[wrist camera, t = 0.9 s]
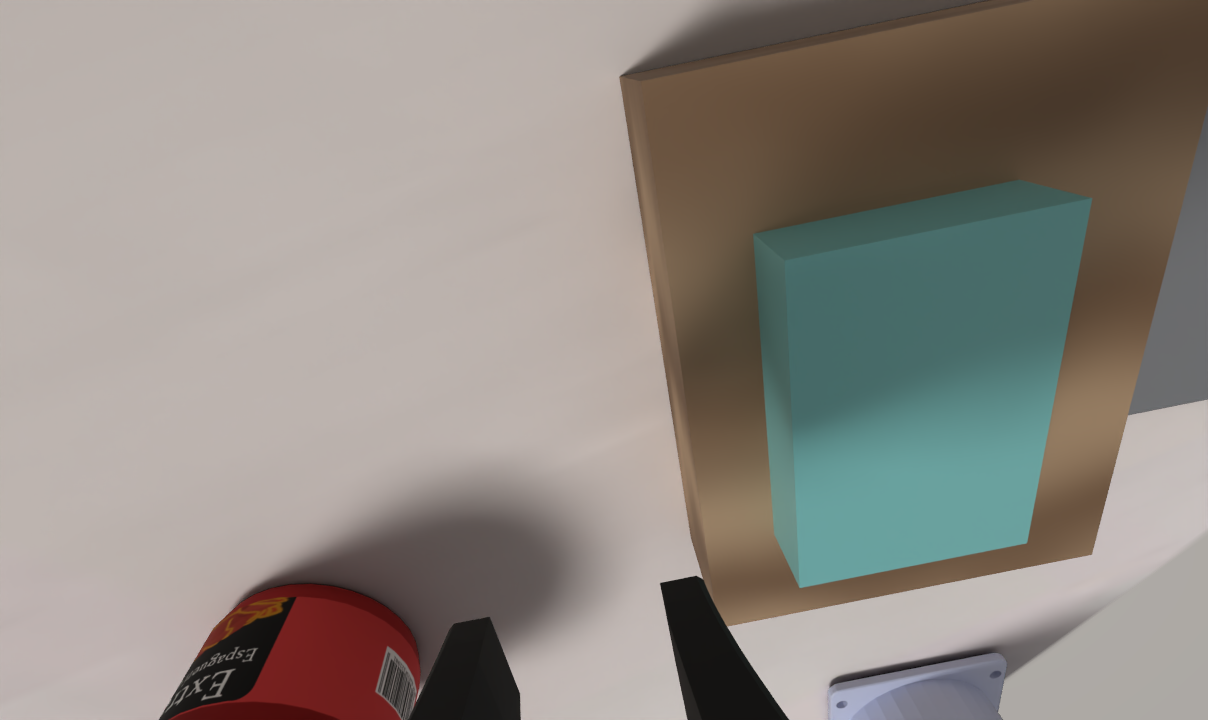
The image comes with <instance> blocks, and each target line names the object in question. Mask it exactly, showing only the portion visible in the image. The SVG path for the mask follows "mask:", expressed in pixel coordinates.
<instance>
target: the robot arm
mask: <svg viewBox="0 0 1208 720" xmlns="http://www.w3.org/2000/svg"><path fill="white" fill-rule="evenodd" d="M660 585H661V590H662V595H663V600H664V605H665V610H666V616H667V621H668V626H669V631H670V636H671V641H672V646H673V651H674V656H675V661H676V666H677V671H678V676H679V681H680V686H681V690H682V695H683V700H684V705H685V710H686V715H687V719H688V720H789V719H788V718H787V716H786V715H785V713H784V712H783V711H782V709H781V708H780V707H779V705H778V704H777V702H776V701H775V700H774V698H773V697H772V695H771V694H770V692H769V691H768V689H767V688H766V686H765V685H764V684H763V682H762V681H761V679H760V678H759V676H758V675H757V673H756V672H755V670H754V669H753V668H752V666H751V665H750V663H749V662H748V660H747V658H746V657H745V655H744V654H743V652H742V651H741V649H740V647H739V646H738V644H737V643H736V641H735V639H734V638H733V636H732V634H731V633H730V631H729V629H728V628H727V626H726V624H725V622H724V621H723V619H722V617H721V615H720V613H719V612H718V610H717V608H716V606H715V604H714V602H713V600H712V598H711V596H710V594H709V592H708V589H707V587H706V585H705V582H704V580H703V579H701V578H699V577H697V576H693V577H688V578H683V579H678V580H673V581H668V582H663V583H660ZM1006 668H1007V661H1006V660H1005V659H1004V657H1003V656H1002V655H1001V654H999V653H990V654H985V655H980V656H974V657H969V658H964V659H959V660H954V661H949V662H944V663H939V664H934V665H928V666H923V667H918V668H913V669H908V670H903V671H898V672H893V673H888V674H882V675H877V676H872V677H867V678H862V679H857V680H852V681H847V682H842V683H837V684H834V685H833V686H831V687H830V688H829V690H828V720H1003V719H1002V718H1001V716H1000V715H999V713H998V709H999V703H1000V698H1001V694H1002V688H1003V683H1004V678H1005V673H1006ZM408 720H521V717H520V693H519V690H518V688H517V685H516V683H515V680H514V677H513V675H512V672H511V670H510V667H509V665H508V662H507V660H506V657H505V655H504V652H503V649H502V647H501V644H500V642H499V639H498V637H497V634H496V632H495V629H494V627H493V624H492V621H491V619H490V617H486V618H481V619H476V620H471V621H466V622H461V623H456V624H454V625H453V626H452V627H451V628H450V630H449V632H448V634H447V636H446V639H445V641H444V643H443V645H442V648H441V650H440V652H439V654H438V657H437V659H436V661H435V663H434V665H433V668H432V670H431V672H430V674H429V676H428V679H427V681H426V683H425V685H424V687H423V689H422V691H421V693H420V695H419V698H418V700H417V702H416V704H415V706H414V708H413V710H412V712H411V714H410V716H409V718H408Z"/></svg>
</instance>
